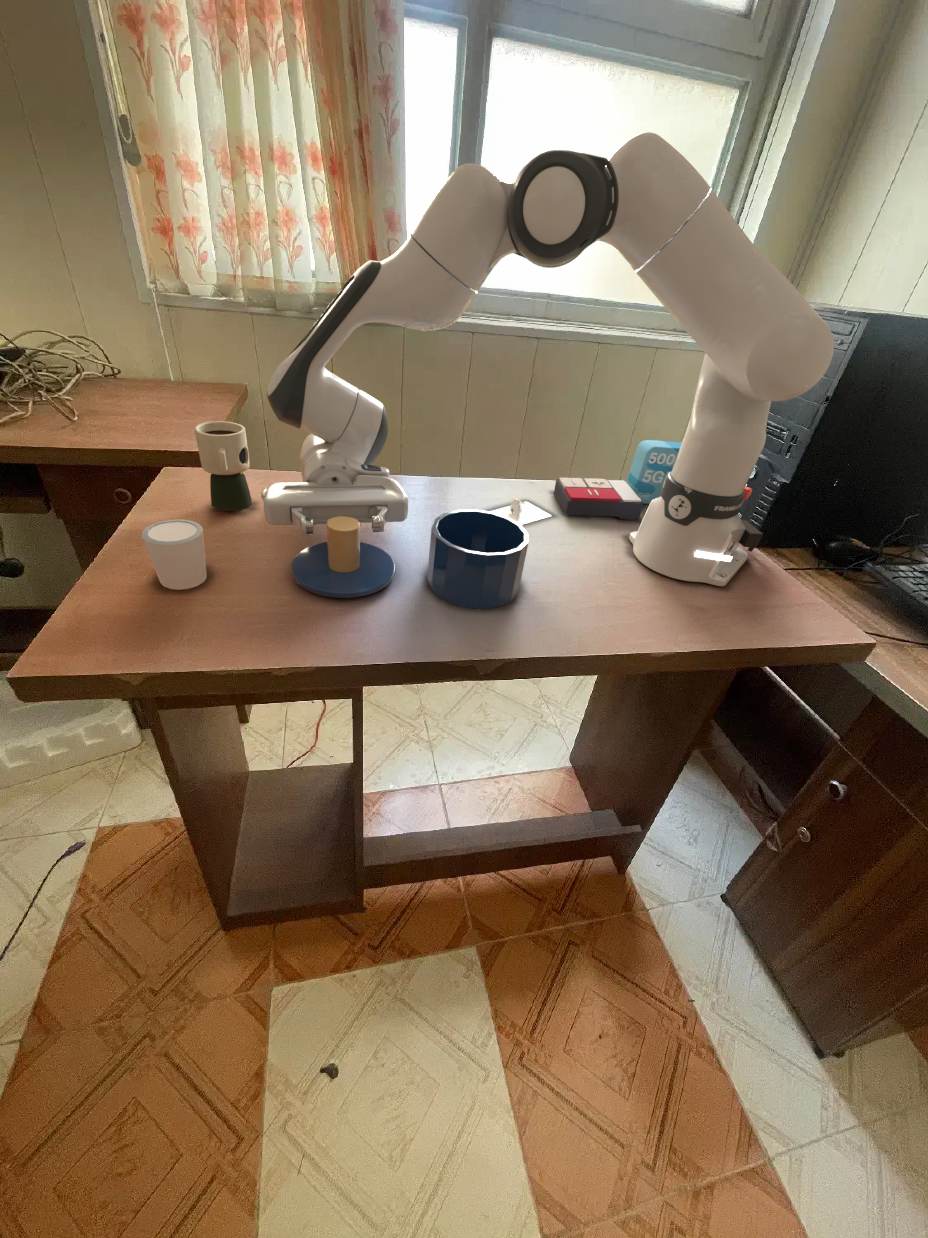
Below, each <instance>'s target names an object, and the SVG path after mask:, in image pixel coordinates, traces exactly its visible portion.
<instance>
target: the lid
mask: <svg viewBox="0 0 928 1238" xmlns="http://www.w3.org/2000/svg"><path fill="white" fill-rule="evenodd" d="M326 540H327V541H323V542H318V543H315V544H313V545H310V546H307V547H306V548H304V549H303V550H301V551H299V552H298V553H297V554H296V555H295V556H294V558H293V559H292V562H291V567H290V569H291V575H292V577H293V579H294V581H295V582H296V583H297V584H298V586H300V587H301V588H303V589H304V590H306V591H309V592H311V593H314V594H315V595H319V596H323V597H328V598H340V599H351V598H358V597H359V598H360V597H364V596H368V595H372V594H374V593H377V592H379V591H381V590H383V589H384V588H386V587H387V586H388V585H389V584H390V583H391V582H393V580H394V577H395V574H396V564H395V561H394V559H393V558H392V556H391V555H390V554H388V552H386V551H385V550H384V549H382V548H380V547H378V546H375V545H372V544H369V543H366V542H363V541H361V523H359V521H358V520H357V519H355V518H352V517H347V516H338V517H333V518H331V519H329V520H328V521H327V524H326Z"/></svg>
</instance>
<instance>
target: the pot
mask: <svg viewBox="0 0 928 1238" xmlns="http://www.w3.org/2000/svg"><path fill="white" fill-rule="evenodd" d="M529 535H530V534H529V532H528V531H527V530H526V528H524V525H520V524H519V523H517V522H515V521H514V520H512V519H510V518H509V517H506V516H503V515H500V514H497V513H494V512H490V511H489V510H480V509H456V510H452V511H448V512H447V511H446V512H444V513H442V514H440V515H439V516H437V517H436V518H434V519H433V523H432V525H431V530H430V540H429V541H430V542H429V551H428V552H429V553H428V565H427V574H426V575H427V576H426V577H427V583H428V585H429V587H430V589H431V590H432V592H433V593H434V594H436V595H437V596H438V597H439V598H441V599H443V600H444V601H446V602H447V603H450V604H453V605H456V606H459V607H463V608H468V609H469V608H470V609H481V610H483V609H484V610H485V609H492V608H497V607H498V608H499V607H500V606H501V607H502V606H504V605H506V604H508V603H510V602H511V601H512V600H514V598H515V597H516V596H517V594H518V592H519V590H520V589H519V588H520V585H521V580H522V575H523V571H524V565H525V561H526V556H527V551H528V548H529V542H530V541H529V540H530V539H529V537H530V536H529Z"/></svg>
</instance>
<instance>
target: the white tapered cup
mask: <svg viewBox="0 0 928 1238" xmlns="http://www.w3.org/2000/svg"><path fill="white" fill-rule="evenodd" d="M141 538H142V541H143V543H144V546H145V549H146V550H147V553H148V556H149V558H150V560H151V563H152V566H153V568H154V571H155V573H156V575H157V579H158V581H159V584H161V586H163V587H164V588H167V589H169V590H178V591H179V590H180V591H181V590H190V589H192V588H195V587H196V588H197V587H198V586H199V585H201V584H203V583H204V582H205V581H206V580H207V578H208V577H207V574H208V573H207V562H206V552H205V551H206V550H205V542H204V529H203V526H202V525H200V523H198V522H195V521H192V520H188V519H165V520H161V521H157V522H155V523H152V524H150V525H148V526H146V527H145V528H144V529H143V530H142V532H141Z"/></svg>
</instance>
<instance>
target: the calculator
mask: <svg viewBox="0 0 928 1238" xmlns="http://www.w3.org/2000/svg"><path fill="white" fill-rule="evenodd" d="M626 482H627V481H626V480H622V479H620V480H619V479H606V478H592V477H591V478H590V477H589V478H588V477H587V478H586V477H584V478H583V479H582V478H581V477H559V478H558V479H556V480H555V485H554V490H553V494H554V496H555V498H556V499H557V501H558V503H559V504H560V505H559V506H560V507H561V508H562V511H563V512H564V514H565V515H566V516H580V517H581V516H583V517H584V516H586V517H617V518H619V519H620V520H629V521H631V520H632V521H636V520H638V521H639V520H640V517H641V514H642V510H643V507H644V504H643V502H642V500H641V499H640V498H639V497H638V496H637V494H636V493H635V492H634V491H633V490H632V489H631V487H630V486H629V485H628V484H627V483H626Z"/></svg>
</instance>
